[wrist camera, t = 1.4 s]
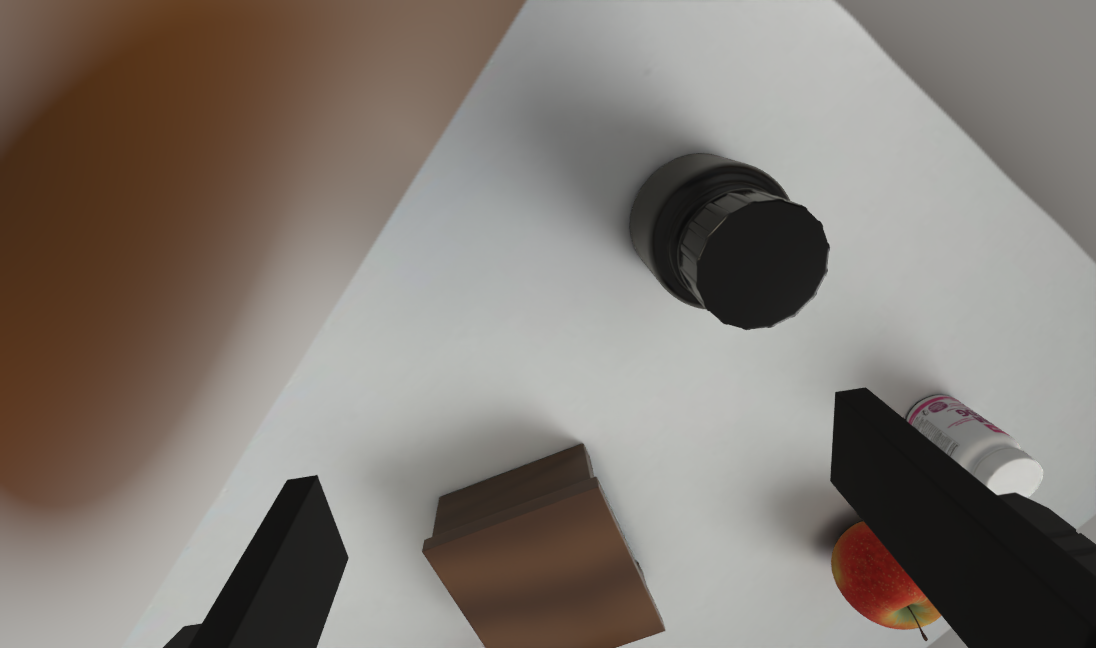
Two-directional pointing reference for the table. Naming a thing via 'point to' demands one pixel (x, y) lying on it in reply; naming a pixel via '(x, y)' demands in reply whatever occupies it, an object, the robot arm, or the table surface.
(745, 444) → the table surface
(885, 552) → the apple
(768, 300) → the ink bottle
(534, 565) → the shelf
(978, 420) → the pill bottle
